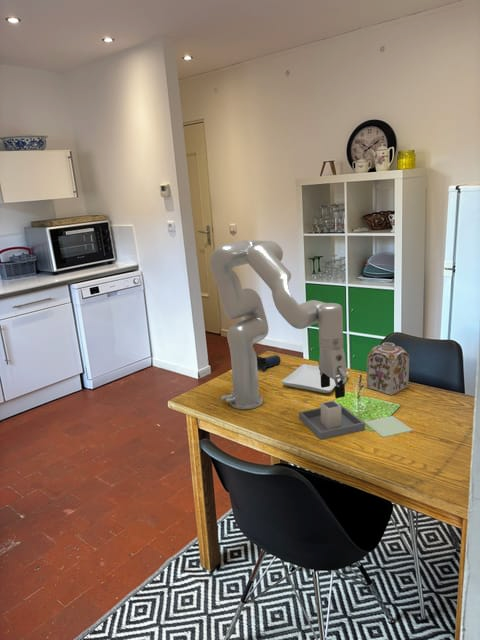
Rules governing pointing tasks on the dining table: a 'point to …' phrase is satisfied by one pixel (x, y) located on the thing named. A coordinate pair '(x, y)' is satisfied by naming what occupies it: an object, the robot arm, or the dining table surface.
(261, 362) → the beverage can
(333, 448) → the dining table surface
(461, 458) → the dining table surface
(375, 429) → the mat
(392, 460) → the dining table surface
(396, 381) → the decorative jar
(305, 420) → the bin
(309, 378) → the salad plate
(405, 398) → the dining table surface
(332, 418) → the labelled box
